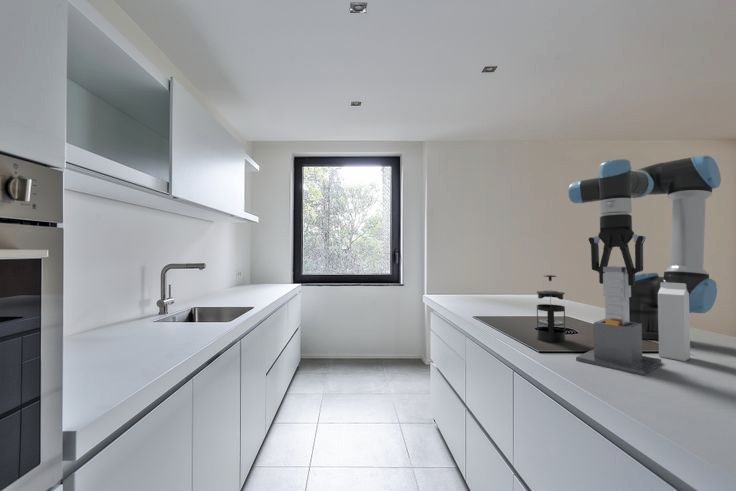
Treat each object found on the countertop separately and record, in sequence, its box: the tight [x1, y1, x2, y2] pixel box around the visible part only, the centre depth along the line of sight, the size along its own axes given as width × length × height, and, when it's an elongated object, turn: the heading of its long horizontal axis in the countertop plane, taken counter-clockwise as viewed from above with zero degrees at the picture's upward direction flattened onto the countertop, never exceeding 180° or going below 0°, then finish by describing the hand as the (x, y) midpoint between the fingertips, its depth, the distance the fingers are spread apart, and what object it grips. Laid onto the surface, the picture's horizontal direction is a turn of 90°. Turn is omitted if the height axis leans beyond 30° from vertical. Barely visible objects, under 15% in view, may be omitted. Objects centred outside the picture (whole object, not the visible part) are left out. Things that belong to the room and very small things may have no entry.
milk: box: [658, 282, 691, 362], centre depth 105 cm, size 6×6×22 cm
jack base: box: [575, 318, 662, 376], centre depth 101 cm, size 16×16×12 cm
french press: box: [536, 274, 567, 344], centre depth 127 cm, size 12×9×23 cm
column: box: [603, 265, 630, 326], centre depth 101 cm, size 7×4×20 cm, turn 129°
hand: (617, 296), depth 101 cm, fingers closed on column, 4 cm apart
